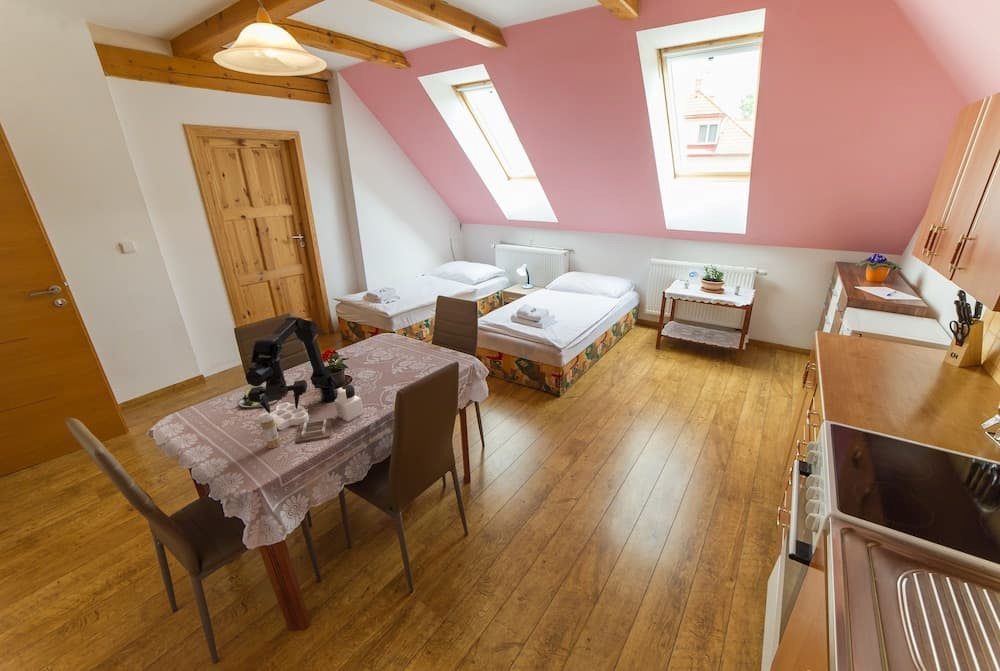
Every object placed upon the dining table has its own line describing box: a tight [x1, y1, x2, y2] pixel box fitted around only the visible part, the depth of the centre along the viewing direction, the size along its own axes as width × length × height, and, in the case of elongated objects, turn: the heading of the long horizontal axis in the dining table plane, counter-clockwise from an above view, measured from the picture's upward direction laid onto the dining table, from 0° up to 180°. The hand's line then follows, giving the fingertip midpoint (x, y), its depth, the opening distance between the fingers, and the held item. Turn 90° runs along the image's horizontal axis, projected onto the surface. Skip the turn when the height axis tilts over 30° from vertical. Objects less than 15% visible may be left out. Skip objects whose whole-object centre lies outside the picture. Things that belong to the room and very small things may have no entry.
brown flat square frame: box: [295, 417, 334, 444], centre depth 166 cm, size 13×12×2 cm
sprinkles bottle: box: [258, 411, 281, 449], centre depth 156 cm, size 5×5×14 cm
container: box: [334, 384, 364, 422], centre depth 174 cm, size 8×8×13 cm
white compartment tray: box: [271, 402, 310, 431], centre depth 175 cm, size 3×18×15 cm
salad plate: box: [238, 385, 290, 410], centre depth 191 cm, size 19×18×5 cm
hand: (283, 410), depth 155 cm, fingers open, 9 cm apart
